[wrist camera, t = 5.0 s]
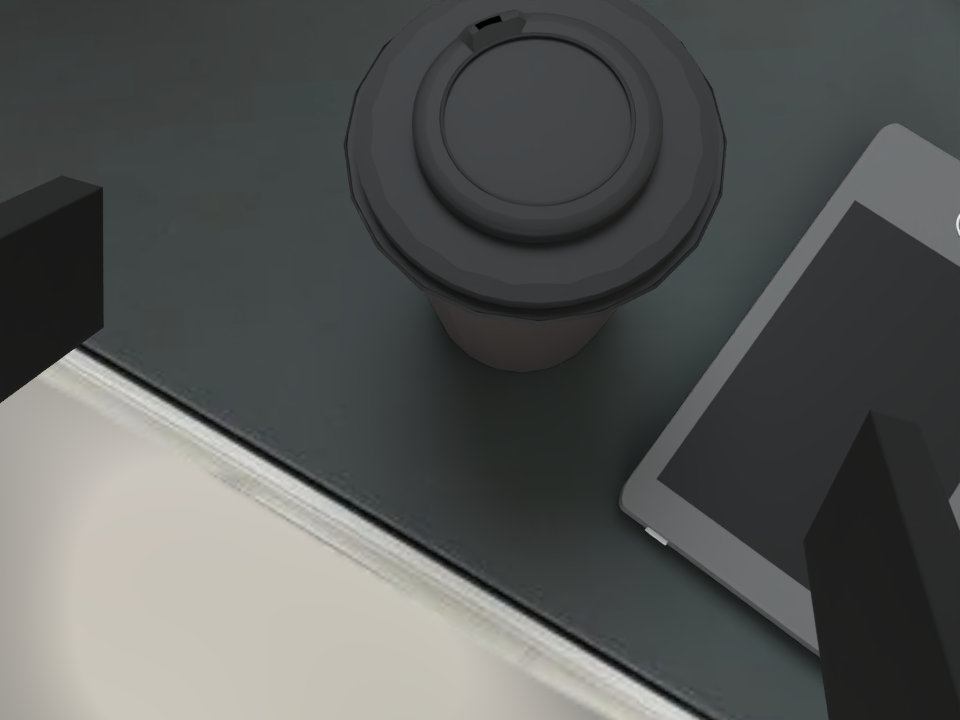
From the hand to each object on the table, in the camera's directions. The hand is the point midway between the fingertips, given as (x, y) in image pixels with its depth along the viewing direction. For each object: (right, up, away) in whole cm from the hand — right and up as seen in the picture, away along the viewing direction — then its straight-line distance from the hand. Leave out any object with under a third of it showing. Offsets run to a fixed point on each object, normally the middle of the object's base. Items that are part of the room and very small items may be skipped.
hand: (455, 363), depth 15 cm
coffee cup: (+2, +2, +13) cm, 13 cm away
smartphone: (+12, -1, +12) cm, 17 cm away
